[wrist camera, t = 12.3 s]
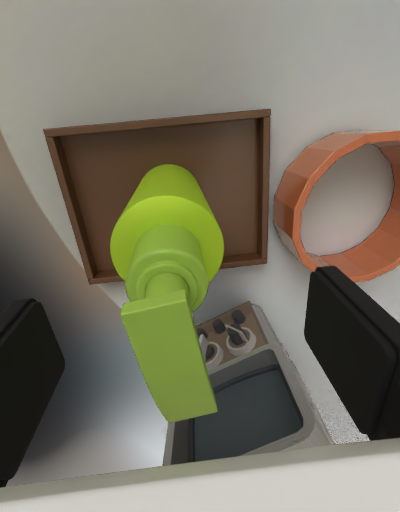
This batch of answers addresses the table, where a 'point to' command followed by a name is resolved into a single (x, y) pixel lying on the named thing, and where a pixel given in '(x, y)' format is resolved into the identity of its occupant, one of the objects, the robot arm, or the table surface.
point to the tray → (159, 153)
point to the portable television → (247, 395)
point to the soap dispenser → (168, 286)
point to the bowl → (300, 185)
